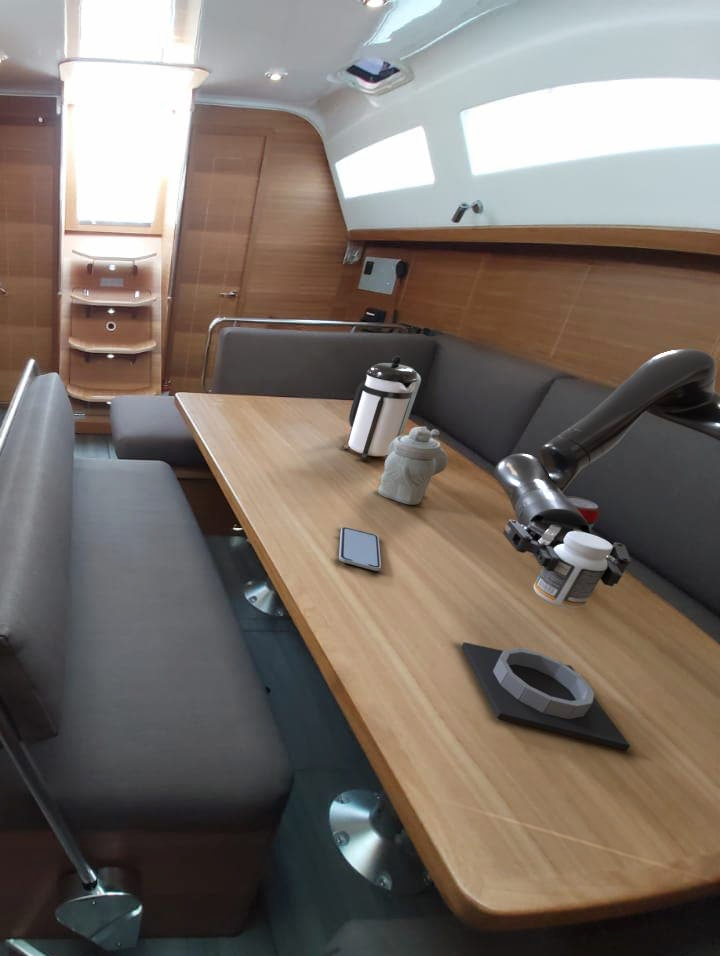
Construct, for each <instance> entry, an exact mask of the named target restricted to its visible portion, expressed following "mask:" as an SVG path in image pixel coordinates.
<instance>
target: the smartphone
mask: <svg viewBox="0 0 720 956" xmlns="http://www.w3.org/2000/svg"><path fill="white" fill-rule="evenodd" d="M339 536H340V537H339V553H338V559H339V561H340V562H343V563H346V564H348V565H353V566H356V567H360V568H363V569H368V570H371V571H375V572H379V571H380V570H381V568H382V563H381V562H382V561H381V549H380V537H379V535H378V534H375V533H372V532H368V531H364V530H359V529H356V528H351V527H347V526H342V527H341V528H340V535H339Z"/></svg>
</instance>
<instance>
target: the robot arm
mask: <svg viewBox="0 0 720 956" xmlns="http://www.w3.org/2000/svg"><path fill="white" fill-rule="evenodd" d="M716 377H717V364H716V359H715V357H713V355H711V354H710V353H709V352H706V351H703V350H701V349H700V350H699V349H693V348H683V349H681V348H680V349H673V350H669V351H666V352H662V353H659V354H657V355H655V356H653V357H651V358H650V359H648V360H646V361H645V362H644V363H643V364H642V365H640V366H639V367H638V368H637V369H636V370H635V371H634V372H633V373H632V374H630V375H629V377H628V378H627V379H626V380H625V381H623V383H621V384H620V385H619V386H618V387H616V389H615V390H613V392H611V393H610V394H609V395H608V396H607V397H606V398H605V399H604V400H603V401H601V402H600V403H599V404H598V405H597V406H596V407H594V408H593V409H592V410H591V411H590V412H588V413H587V414H586V415H584V416H583V417H582V418H581V419H579V420H578V421H577V422H575V423H573V424H572V425H571V426H569V427H568V428H566V429H565V430H563V431H562V432H560V433H558V434H557V435H556V436H554V437H553V438H551V439H550V440H548V441H547V442H546V443H545V442H544V444H543V445H541V447H540V448H539V453H538V454H539V458H540V459H538V458H537V457H536V456H534V455H532V454H528V453H513V454H511V455H510V454H509V455H507V456H506V457H504V458H502V459H500V460H499V462H497V464H496V465H495V467H494V470H493V475H494V478H495V479H496V481H497V482H498V484H499V485H500V487H502V489H503V491H504V492H505V494H506V495H507V497H508V499H509V501H510V504H511V507H512V509H513V511H514V515H515V518H516V520H515V519H508V521H507V523H506V525H505V527H504V530H503V532H502V535H503V536H504V537H505V538H506V540H508V542H509V543H510V544H511V546H512V547H513V548H514V549H515V551H517V552H519V553H521V554H525V553H526V552H529V553H531V557H534V558H536V561H537V562H538V564H539V565H540V566H541V567H544V568H545V570H547V571H551V572H553V571H554V569H555V567H556V566H557V564H558V562H559V558H558V556H557V555H556V553H555V551H554V548H555V547H556V546H557V545H560V544H564V538H565V536H566V535H567V533H568V532H571V531H578V532H584V533H588V534H591V531H590V530H589V525H588V523H587V521H586V520H585V518H584V517H583V516H582V514H581V513H580V512H579V510H578V509H577V508H576V507H575V505H574V504H573V503H572V502H571V501H570V500H569V499H568V498H567V497H566V496H567V495H565V494H564V491H565V490H566V489H567V488H568V486H569V485H570V484H571V483H572V481H573V480H574V479H575V478H576V477H577V475H579V473H580V472H581V471H582V470H583V469H584V468H586V467H588V466H589V465H591V464H593V462H595V461H596V460H598V459H600V458H601V457H602V456H605V454H607V453H608V452H610V451H611V450H612V449H613V448H614V447H615V446H617V445H618V443H619V442H620V441H622V440H623V438H624V437H625V436H626V434H627V433H628V432H629V431H630V430H631V428H632V427H633V426H634V425H635V424H636V423H637V421H638V420H639V419H640V418H641V417H642V416H643V415H644V414H645V413H646V412H647V413H649V414H651V415H653V416H655V417H658V418H660V419H663V420H665V421H668V422H671V423H674V424H676V425H679V426H681V427H685V428H688V429H690V430H692V431H695V432H699V433H701V434H703V435H706V436H708V437H710V438H713V439H714V440H716V441H718V442H720V394H719V393H718V392H717V391H716V390H715V387H716V379H717V378H716ZM611 545H612V546H613V549H612V551H611V553H610V554H609V555H608V556H607V557H604V558H605V560H606V561H607V569H606V571H605V572H604V574H603V576H602V577H601V579H600V581H601V582H602V584H603V585H605V586H608V587H614V586H615V585H618V583H619V581H620V580H621V578H622V577H623V575H624V573H625V571H626V570H627V568H628V567H629V565H630V563H631V561H632V560H631V557H630V554H629V552H628V549H627V546H626V545H625V544H624V543H621V542H617V541H616V542H615V541H614V542H613V544H611Z"/></svg>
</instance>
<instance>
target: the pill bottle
mask: <svg viewBox="0 0 720 956" xmlns="http://www.w3.org/2000/svg"><path fill="white" fill-rule="evenodd" d="M612 545H613V544H611V543H610V542H609V541H608V540H606V539H604V538H602V537H600V536H598V535H595V534H592V533H590V534H588V533H584V532H578V531H571V532H568V533H567V535H566V536H565V538H564V544H560V545H557V546H556V547H555V548H554V551H555V553H556V555H557V556H558V558H559V562H558V564H557V566H556V567H555V569H554V571H553V572H551V571H547V570H545V568H544V566H542V569H541V571H540V572H539V574H538V576H537V578H536V580H535V581H534V584H533V590H534V592H535V594H537V595H538V596H539V597H540V598H542V599H543V600H545V601H546V602H548V603H550V604H554V605H555V606H558V607H562V608H566V609H571V610H572V609H575V610H576V609H580V608H583V607H584V606H585V605H586V604H587V602H588V600H589V598H590V597H591V595H592V594H593V592H594V590H595V589H596V587H597V586H598V584H599V582H600V581H601V577H602V576H603V574H604V572H605V571H606V569H607V561H606V560H605V558H604V557H607V556H608V555H609V554H610V553H611V551H612V549H613V546H612Z"/></svg>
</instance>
